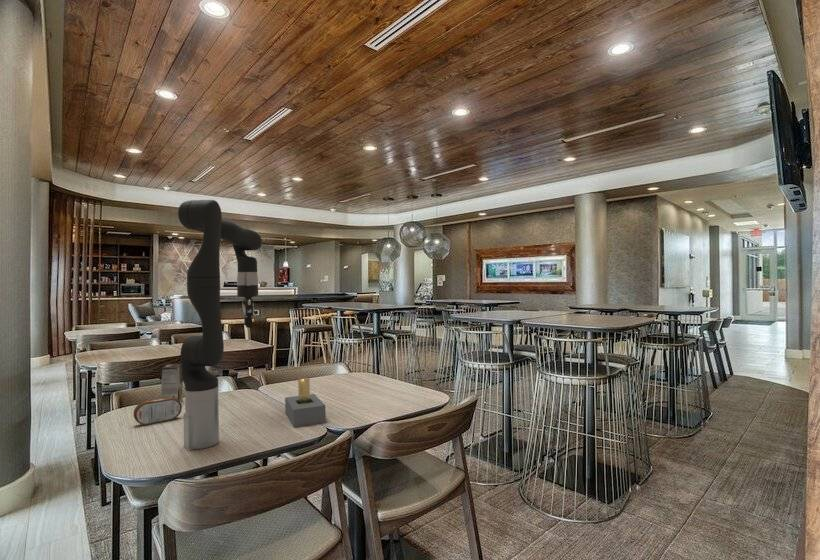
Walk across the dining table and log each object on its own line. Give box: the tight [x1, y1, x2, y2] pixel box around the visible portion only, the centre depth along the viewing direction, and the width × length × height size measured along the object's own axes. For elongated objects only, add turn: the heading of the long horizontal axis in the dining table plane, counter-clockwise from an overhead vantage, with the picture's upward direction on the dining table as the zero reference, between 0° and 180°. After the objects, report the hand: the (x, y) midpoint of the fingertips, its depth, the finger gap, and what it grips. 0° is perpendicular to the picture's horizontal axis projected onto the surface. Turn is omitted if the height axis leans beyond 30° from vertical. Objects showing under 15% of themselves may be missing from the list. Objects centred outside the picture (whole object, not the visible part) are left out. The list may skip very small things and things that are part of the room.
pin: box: [297, 377, 311, 404], centre depth 154 cm, size 4×4×12 cm
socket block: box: [284, 393, 327, 428], centre depth 153 cm, size 18×11×6 cm, turn 25°
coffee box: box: [160, 363, 184, 403], centre depth 176 cm, size 9×6×16 cm
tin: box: [133, 397, 183, 426], centre depth 152 cm, size 15×3×8 cm, turn 129°
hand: (248, 326), depth 161 cm, fingers open, 8 cm apart
